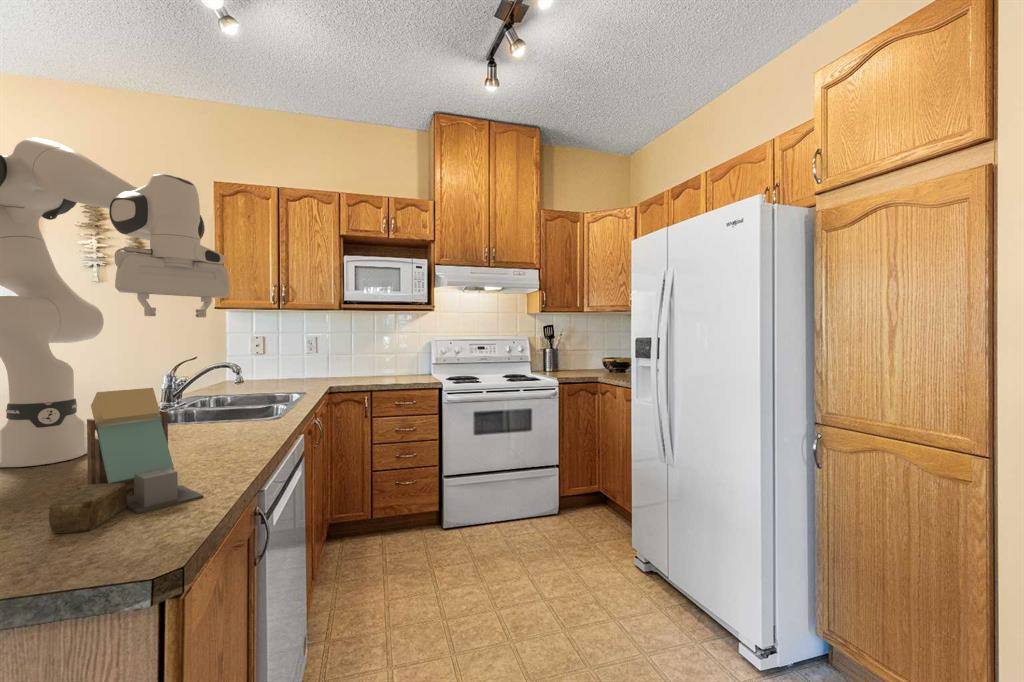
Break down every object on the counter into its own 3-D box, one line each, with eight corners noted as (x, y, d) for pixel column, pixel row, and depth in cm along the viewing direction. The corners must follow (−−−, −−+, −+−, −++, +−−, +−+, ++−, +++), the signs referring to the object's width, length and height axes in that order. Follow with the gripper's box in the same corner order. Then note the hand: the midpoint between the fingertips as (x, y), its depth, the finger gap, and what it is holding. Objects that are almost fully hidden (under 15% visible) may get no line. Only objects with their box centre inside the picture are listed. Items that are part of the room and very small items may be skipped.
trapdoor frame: (77, 490, 92) (76, 416, 92) (157, 474, 103) (156, 407, 102) (89, 498, 88) (87, 420, 87) (170, 480, 98) (169, 411, 98)
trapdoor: (86, 406, 92) (92, 392, 90) (150, 400, 101) (157, 387, 98) (104, 490, 86) (111, 478, 84) (170, 476, 95) (178, 464, 93)
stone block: (45, 537, 71) (44, 504, 71) (91, 510, 82) (90, 481, 82) (91, 533, 73) (90, 501, 73) (130, 507, 84) (130, 479, 84)
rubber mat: (118, 501, 86) (118, 499, 86) (181, 487, 94) (181, 485, 94) (137, 514, 80) (137, 511, 80) (203, 497, 88) (203, 495, 88)
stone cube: (133, 473, 85) (134, 501, 85) (144, 478, 82) (144, 507, 82) (166, 467, 89) (167, 493, 89) (177, 471, 86) (177, 499, 86)
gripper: (120, 243, 91) (120, 315, 91) (232, 257, 108) (233, 317, 108) (109, 246, 95) (110, 315, 95) (219, 259, 111) (220, 318, 112)
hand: (176, 316), depth 101 cm, fingers open, 8 cm apart
